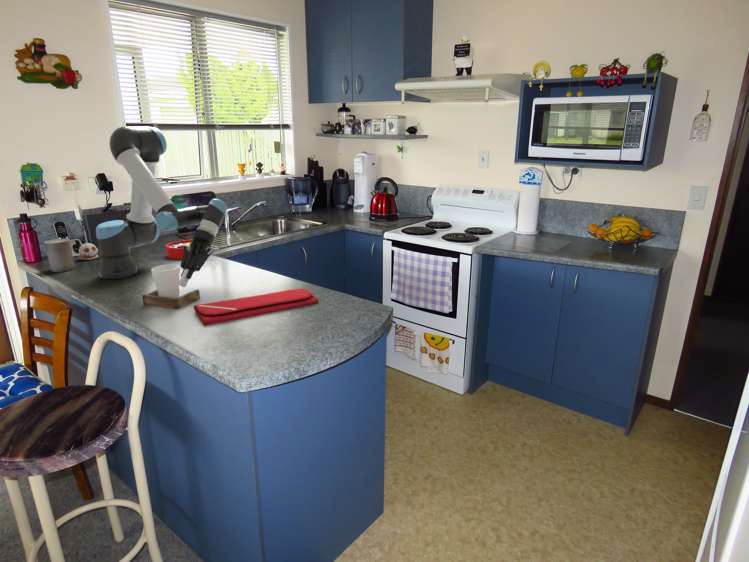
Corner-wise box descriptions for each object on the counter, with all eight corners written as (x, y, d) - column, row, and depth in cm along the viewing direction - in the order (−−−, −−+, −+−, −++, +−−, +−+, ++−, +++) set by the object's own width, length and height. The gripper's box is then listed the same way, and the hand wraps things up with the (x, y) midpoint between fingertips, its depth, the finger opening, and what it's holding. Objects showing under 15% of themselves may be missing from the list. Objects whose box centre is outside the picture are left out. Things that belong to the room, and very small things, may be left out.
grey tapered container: (77, 265, 228) (71, 234, 224) (72, 271, 219) (65, 238, 215) (54, 267, 225) (47, 236, 221) (47, 273, 217) (40, 240, 212)
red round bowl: (202, 238, 260) (211, 245, 243) (204, 248, 261) (212, 256, 245) (163, 242, 250) (169, 250, 234) (164, 253, 252) (170, 261, 235)
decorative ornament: (84, 261, 236) (78, 231, 232) (78, 259, 241) (72, 229, 236) (101, 258, 242) (95, 229, 237) (95, 256, 247) (89, 227, 242)
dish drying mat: (319, 304, 176) (318, 294, 175) (204, 327, 155) (203, 317, 154) (302, 292, 189) (301, 283, 187) (194, 313, 168) (192, 303, 167)
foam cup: (189, 299, 181) (184, 266, 177) (169, 307, 172) (164, 272, 169) (170, 296, 184) (165, 263, 180) (150, 303, 176) (145, 269, 172)
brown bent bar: (168, 294, 186) (166, 285, 185) (200, 298, 181) (199, 289, 180) (143, 304, 175) (142, 295, 174) (177, 309, 170) (175, 299, 169)
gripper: (224, 240, 193) (201, 291, 183) (197, 238, 197) (174, 288, 187) (214, 229, 187) (189, 282, 177) (187, 227, 191) (162, 279, 181)
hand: (181, 285), depth 182 cm, fingers closed
